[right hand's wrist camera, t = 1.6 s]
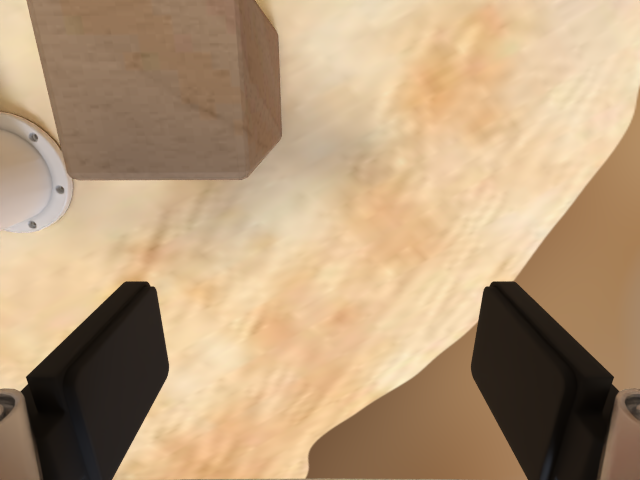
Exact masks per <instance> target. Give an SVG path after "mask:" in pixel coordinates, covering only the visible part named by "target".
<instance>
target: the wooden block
mask: <svg viewBox="0 0 640 480" xmlns="http://www.w3.org/2000/svg"><path fill="white" fill-rule="evenodd" d="M27 4H28V9H29V13H30V17H31V21H32V26H33V30H34V34H35V39H36V43H37V47H38V51H39V56H40V60H41V64H42V68H43V73H44V77H45V81H46V86H47V90H48V94H49V98H50V103H51V107H52V111H53V115H54V120H55V124H56V128H57V132H58V137H59V141H60V145H61V150H62V154H63V158H64V162H65V167H66V171H67V173H68V175H69V177H70V178H73V179H77V180H242V179H244V178H247V177H248V176H249V175H250V174H251V173H252V172H253V170H254V169H255V168H256V167H257V166H258V165H259V163H260V162H261V161H262V160H263V159H264V158H265V157H266V155H267V154H268V153H269V152H270V151H271V150H272V148H273V147H274V146H275V145H276V144H277V143H278V142H279V140H280V139H281V136H282V128H281V101H280V74H279V46H278V34H277V32H276V30H275V29H274V27H273V26H272V24H271V23H270V21H269V20H268V19H267V17H266V16H265V14H264V13H263V11H262V10H261V9H260V7H259V6H258V4H257V3H256V1H255V0H27Z"/></svg>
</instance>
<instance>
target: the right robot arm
mask: <svg viewBox="0 0 640 480" xmlns="http://www.w3.org/2000/svg"><path fill="white" fill-rule="evenodd" d="M72 192H73V182H72V178H70V177H69V175H68V173H67V171H66V167H65V162H64V158H63V154H62V151H61V150H60V148H59V147H58V145H57V144H56V143H55V141H54V140H53V139H52V138H51V137H50V136H49V135H48V134H47V133H46V132H45V131H43V130H42V129H41V128H39V127H38V126H37V125H35V124H34V123H32V122H30V121H28V120H26V119H25V118H22V117H20V116H17V115H14V114H11V113H5V112H0V231H1V230H5V231H10V232H16V233H29V232H34V231H39V230H41V229H44V228H46V227H48V226H50V225H52V224H53V223H55V222H57V221H58V220H59V219H60V218H61V217H62V216H63V215H64V213H65V212H66V210H67V209H68V207H69V204H70V202H71V199H72ZM471 371H472V376H473V378H474V380H475V382H476V384H477V386H478V388H479V390H480V391H481V393H482V395H483V397H484V399H485V401H486V403H487V404H488V406H489V408H490V410H491V412H492V414H493V415H494V417H495V419H496V421H497V423H498V425H499V427H500V428H501V430H502V432H503V434H504V436H505V438H506V440H507V441H508V443H509V445H510V447H511V449H512V451H513V452H514V454H515V456H516V458H517V460H518V462H519V464H520V466H521V467H522V469H523V471H524V473H525V475H526V477H527V479H528V480H640V389H625V390H622V391H620V392H619V391H618V390H617V389H616V388H615V387H614V386H613V385H612V381H613V378H614V377H613V376H612V375H611V374H610V373H609V372H608V371H607V370H606V369H605V368H604V367H603V366H602V365H601V364H600V363H599V362H598V361H597V360H596V359H595V358H594V357H593V356H592V355H591V354H590V353H589V352H587V351H586V350H585V349H584V348H583V347H582V346H581V345H580V344H579V343H578V342H577V341H576V340H575V339H574V338H573V337H572V336H571V335H570V334H569V333H568V332H567V331H566V330H565V329H564V328H563V327H562V326H560V325H559V324H558V323H557V322H556V321H555V320H554V319H553V318H552V317H551V316H550V315H549V314H548V313H547V312H546V311H545V310H544V309H543V308H542V307H541V306H540V305H539V304H538V303H537V302H536V301H535V300H534V299H532V298H531V297H530V296H529V295H528V294H527V293H526V292H525V291H524V290H523V289H522V288H521V287H520V286H519V285H518V284H517V283H516V282H492V283H491V284H490V287H485V289H484V291H483V297H482V303H481V309H480V314H479V320H478V327H477V332H476V338H475V344H474V350H473V356H472V362H471ZM168 372H169V362H168V356H167V350H166V344H165V338H164V332H163V326H162V320H161V314H160V309H159V303H158V297H157V291H156V289H155V287H150V284H149V283H148V282H124V283H123V284H122V285H121V286H120V287H119V288H118V289H117V290H116V291H115V292H114V293H113V294H112V295H111V296H110V297H109V298H108V299H106V300H105V301H104V302H103V303H102V304H101V305H100V306H99V307H98V308H97V309H96V310H95V311H94V312H93V313H92V314H91V315H90V316H89V317H88V318H87V319H86V320H85V321H84V322H83V323H82V324H81V325H79V326H78V327H77V328H76V329H75V330H74V331H73V332H72V333H71V334H70V335H69V336H68V337H67V338H66V339H65V340H64V341H63V342H62V343H61V344H60V345H59V346H58V347H57V348H56V349H55V350H54V351H53V352H51V353H50V354H49V355H48V356H47V357H46V358H45V359H44V360H43V361H42V362H41V363H40V364H39V365H38V366H37V367H36V368H35V369H34V370H33V371H32V372H31V373H30V374H29V375H28V376H27V377H26V378H27V381H28V385H27V386H26V387H25V388H24V389H23V390H22V391H21V392H20V391H18V390H15V389H0V480H112V479H113V477H114V475H115V473H116V471H117V469H118V467H119V466H120V464H121V462H122V460H123V458H124V456H125V454H126V453H127V451H128V449H129V447H130V445H131V443H132V441H133V440H134V438H135V436H136V434H137V432H138V430H139V428H140V427H141V425H142V423H143V421H144V419H145V417H146V415H147V414H148V412H149V410H150V408H151V406H152V404H153V403H154V401H155V399H156V397H157V395H158V393H159V391H160V390H161V388H162V386H163V384H164V382H165V380H166V378H167V376H168ZM182 480H457V479H182Z"/></svg>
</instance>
